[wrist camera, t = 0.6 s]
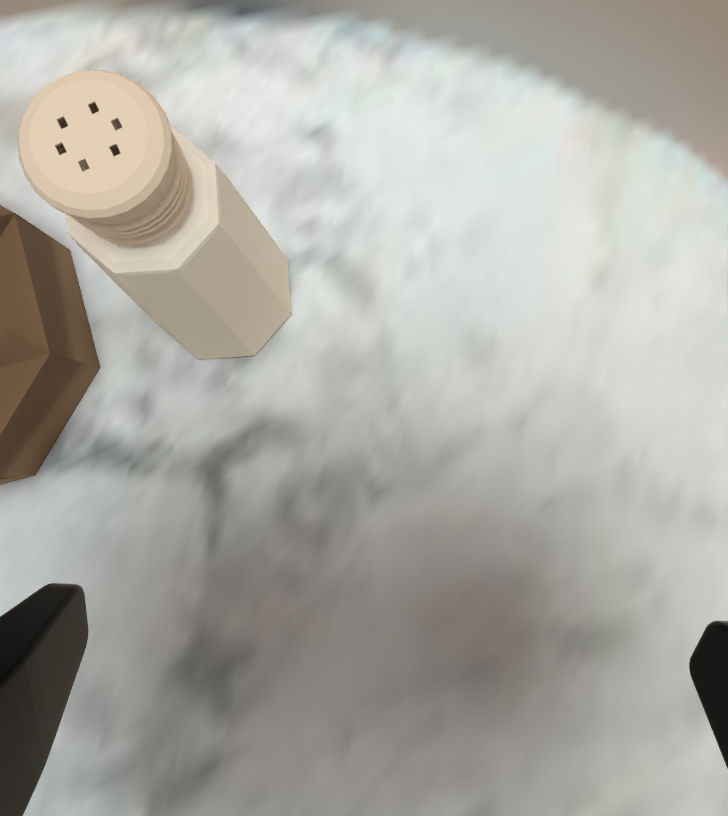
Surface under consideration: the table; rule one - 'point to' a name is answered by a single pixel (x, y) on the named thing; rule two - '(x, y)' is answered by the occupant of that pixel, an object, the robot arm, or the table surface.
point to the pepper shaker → (155, 213)
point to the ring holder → (38, 345)
